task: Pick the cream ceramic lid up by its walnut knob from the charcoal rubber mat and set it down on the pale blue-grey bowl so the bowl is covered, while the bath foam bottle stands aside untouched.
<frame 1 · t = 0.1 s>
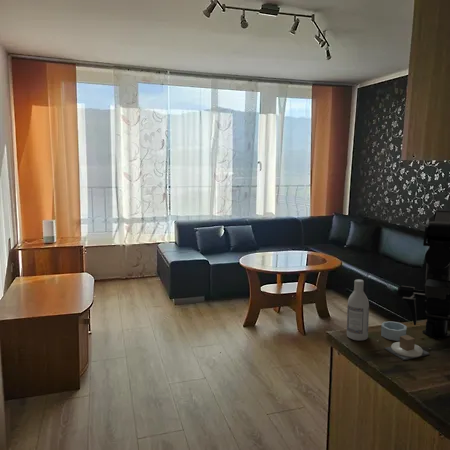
hand: (434, 328, 107), 15 cm above the worktop, tool pointing down, fingers open, 9 cm apart
lid: (407, 344, 126), on the mat
bath foam: (357, 337, 138), on the worktop
mat: (406, 351, 127), on the worktop
bowl: (393, 335, 139), on the worktop
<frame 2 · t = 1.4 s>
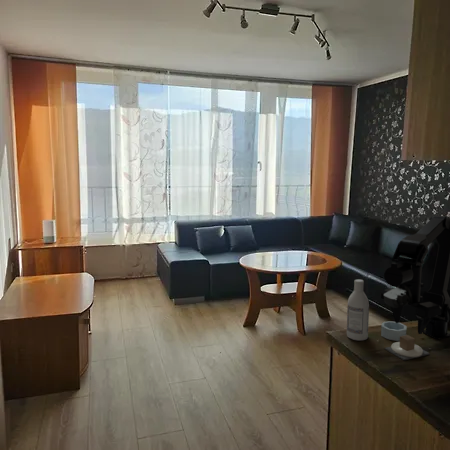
hand: (408, 328, 126), 8 cm above the worktop, tool pointing down, fingers open, 9 cm apart
nothing on the worktop moved.
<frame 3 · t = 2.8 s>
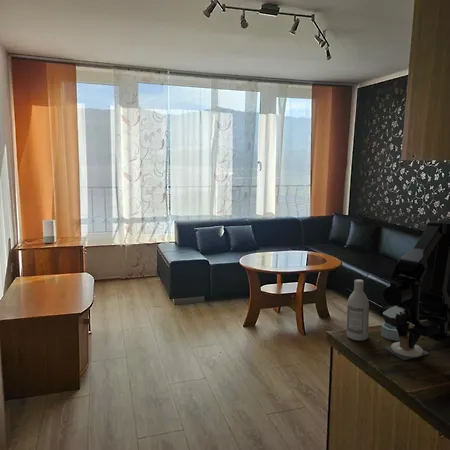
hand: (407, 345, 126), 2 cm above the worktop, tool pointing down, fingers closed on lid, 3 cm apart
lid: (407, 343, 126), on the mat, touching gripper
everything else where it was.
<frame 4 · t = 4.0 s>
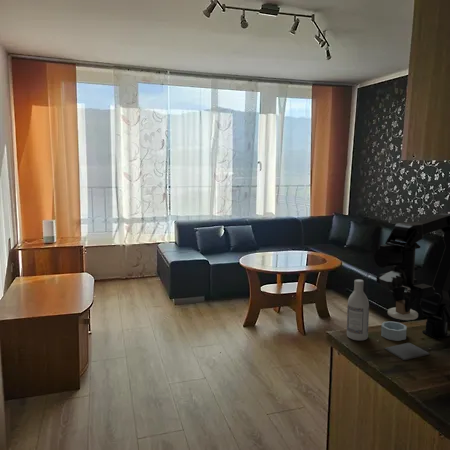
hand: (402, 310, 130), 12 cm above the worktop, tool pointing down, fingers closed on lid, 3 cm apart
lid: (402, 308, 130), point 12 cm above the worktop, touching gripper
everything else where it was.
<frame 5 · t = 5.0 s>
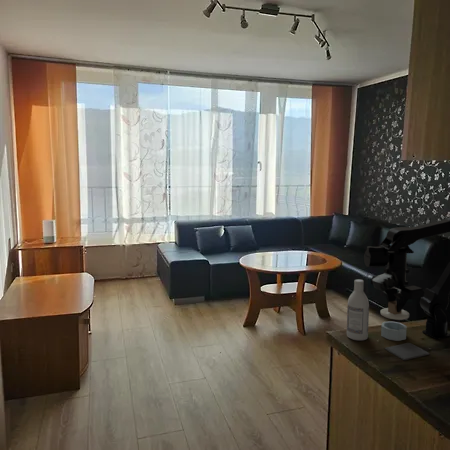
hand: (395, 310, 137), 9 cm above the worktop, tool pointing down, fingers closed on lid, 3 cm apart
lid: (394, 308, 137), point 10 cm above the worktop, touching gripper
everything else where it was.
when the fingers open (6 cm above the worktop, at t = 5.7 s): lid drops 1 cm, resting on bowl.
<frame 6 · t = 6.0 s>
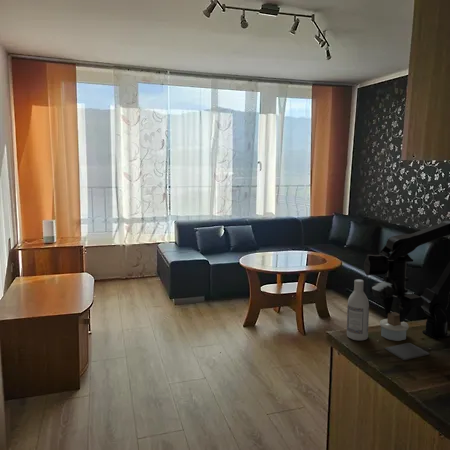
hand: (394, 318, 138), 6 cm above the worktop, tool pointing down, fingers open, 6 cm apart
lid: (394, 320, 138), on the bowl, point 6 cm above the worktop
everything else where it was.
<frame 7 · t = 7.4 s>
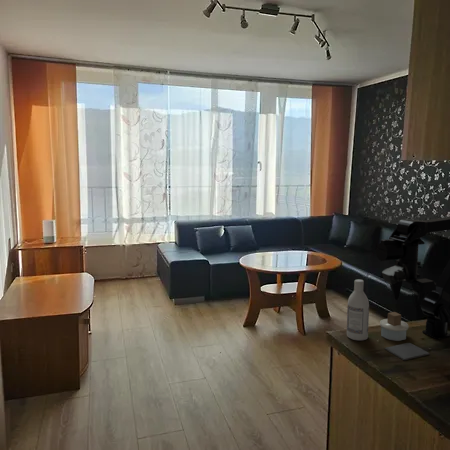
hand: (405, 304, 133), 12 cm above the worktop, tool pointing down, fingers open, 9 cm apart
nothing on the worktop moved.
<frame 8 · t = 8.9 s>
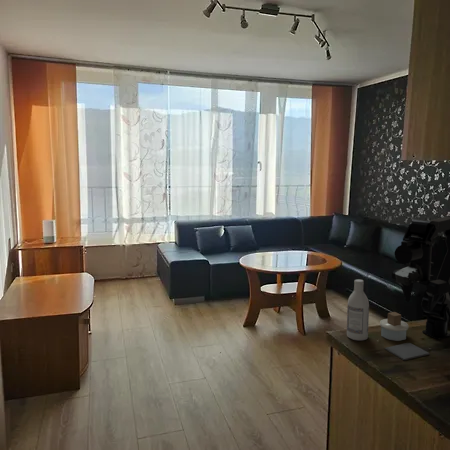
hand: (418, 306, 130), 13 cm above the worktop, tool pointing down, fingers open, 9 cm apart
nothing on the worktop moved.
at the end: lid 0.1 cm from the bowl (horizontally); lid 0.1 cm off-centre on the bowl, point 5.6 cm above the bowl's base; the gripper is holding nothing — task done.
